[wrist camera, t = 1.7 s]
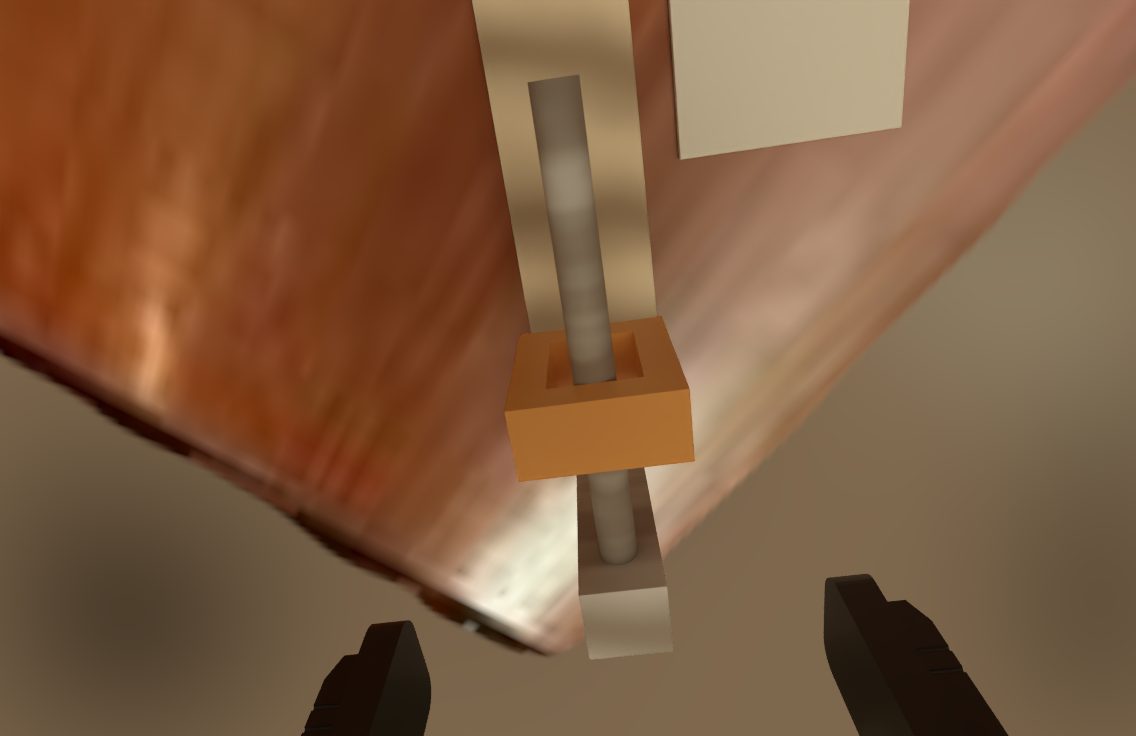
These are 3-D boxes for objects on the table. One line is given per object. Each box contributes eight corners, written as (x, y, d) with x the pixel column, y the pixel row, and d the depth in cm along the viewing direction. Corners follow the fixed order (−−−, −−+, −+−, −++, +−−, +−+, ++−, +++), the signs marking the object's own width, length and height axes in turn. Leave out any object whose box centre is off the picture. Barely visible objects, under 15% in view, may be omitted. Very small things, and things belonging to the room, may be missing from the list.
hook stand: (662, 409, 39) (730, 645, 23) (549, 423, 40) (534, 664, 23) (620, -50, 30) (683, -216, 13) (471, -25, 30) (350, -155, 14)
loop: (530, 391, 26) (518, 482, 20) (520, 334, 25) (504, 412, 19) (666, 375, 26) (694, 461, 20) (661, 316, 25) (689, 388, 19)
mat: (678, 158, 33) (680, 159, 33) (661, -96, 29) (663, -99, 28) (895, 126, 33) (901, 127, 32) (912, -139, 28) (918, -143, 28)
